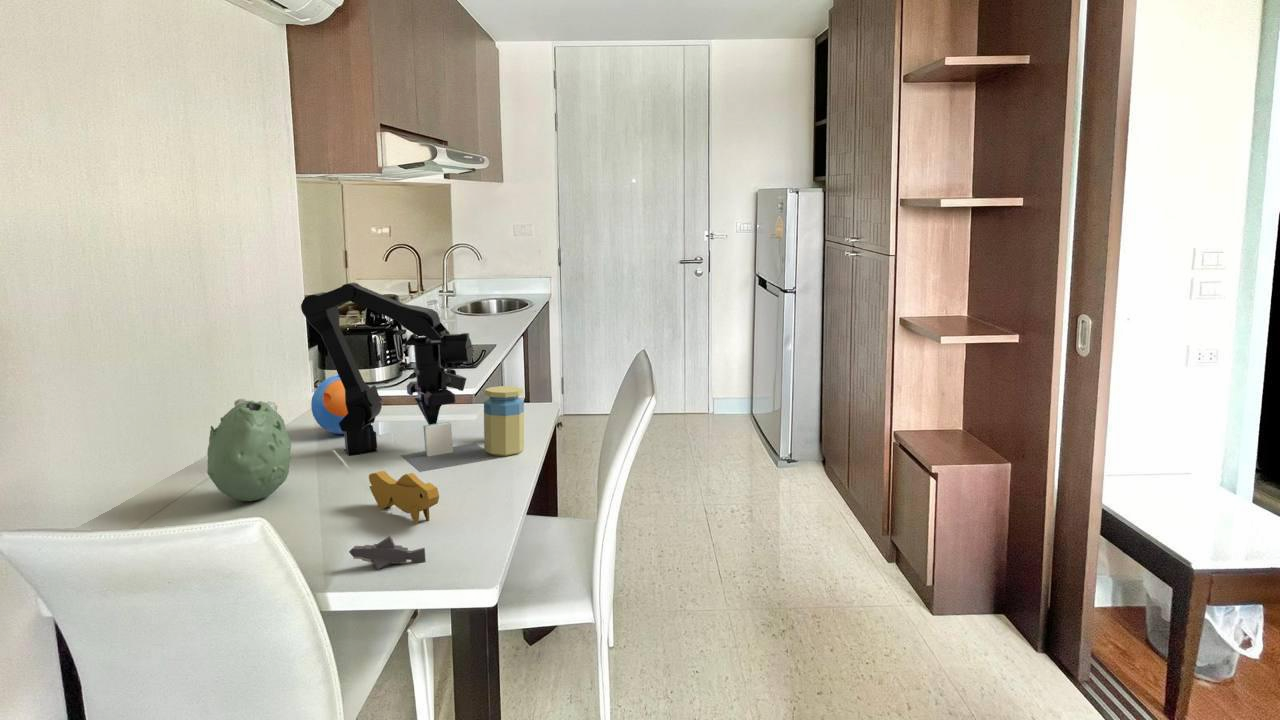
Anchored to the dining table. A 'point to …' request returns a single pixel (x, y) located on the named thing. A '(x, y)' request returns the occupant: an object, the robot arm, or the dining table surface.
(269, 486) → the green rounded lump
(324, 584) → the dining table surface
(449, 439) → the tile
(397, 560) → the animal figurine
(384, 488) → the decorative fish
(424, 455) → the mat
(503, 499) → the dining table surface
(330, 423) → the treat dispenser ball
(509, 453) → the jar
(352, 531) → the dining table surface
